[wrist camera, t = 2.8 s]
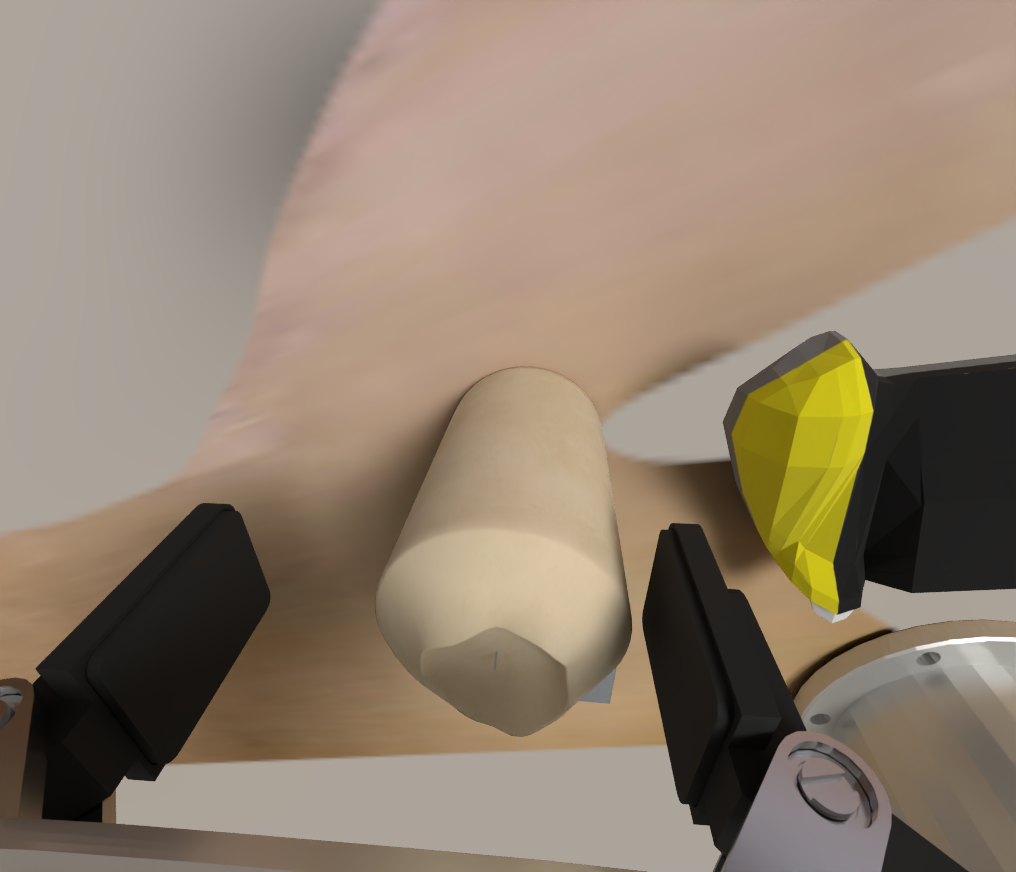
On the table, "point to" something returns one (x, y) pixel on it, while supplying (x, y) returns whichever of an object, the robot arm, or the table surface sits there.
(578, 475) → the candle
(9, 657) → the table surface
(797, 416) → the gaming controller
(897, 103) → the table surface
